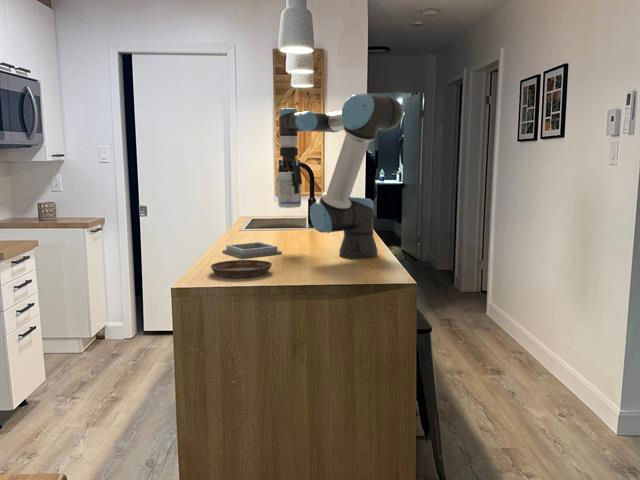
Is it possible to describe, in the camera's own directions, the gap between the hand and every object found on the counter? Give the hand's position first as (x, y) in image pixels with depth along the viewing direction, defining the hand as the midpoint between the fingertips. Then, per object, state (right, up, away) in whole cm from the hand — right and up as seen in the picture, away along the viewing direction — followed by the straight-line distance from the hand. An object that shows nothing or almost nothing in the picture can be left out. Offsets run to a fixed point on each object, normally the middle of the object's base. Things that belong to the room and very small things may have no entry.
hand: (289, 200), depth 236 cm
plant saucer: (-14, -28, -45) cm, 54 cm away
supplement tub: (0, -3, 0) cm, 3 cm away
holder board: (-15, -22, -5) cm, 27 cm away
